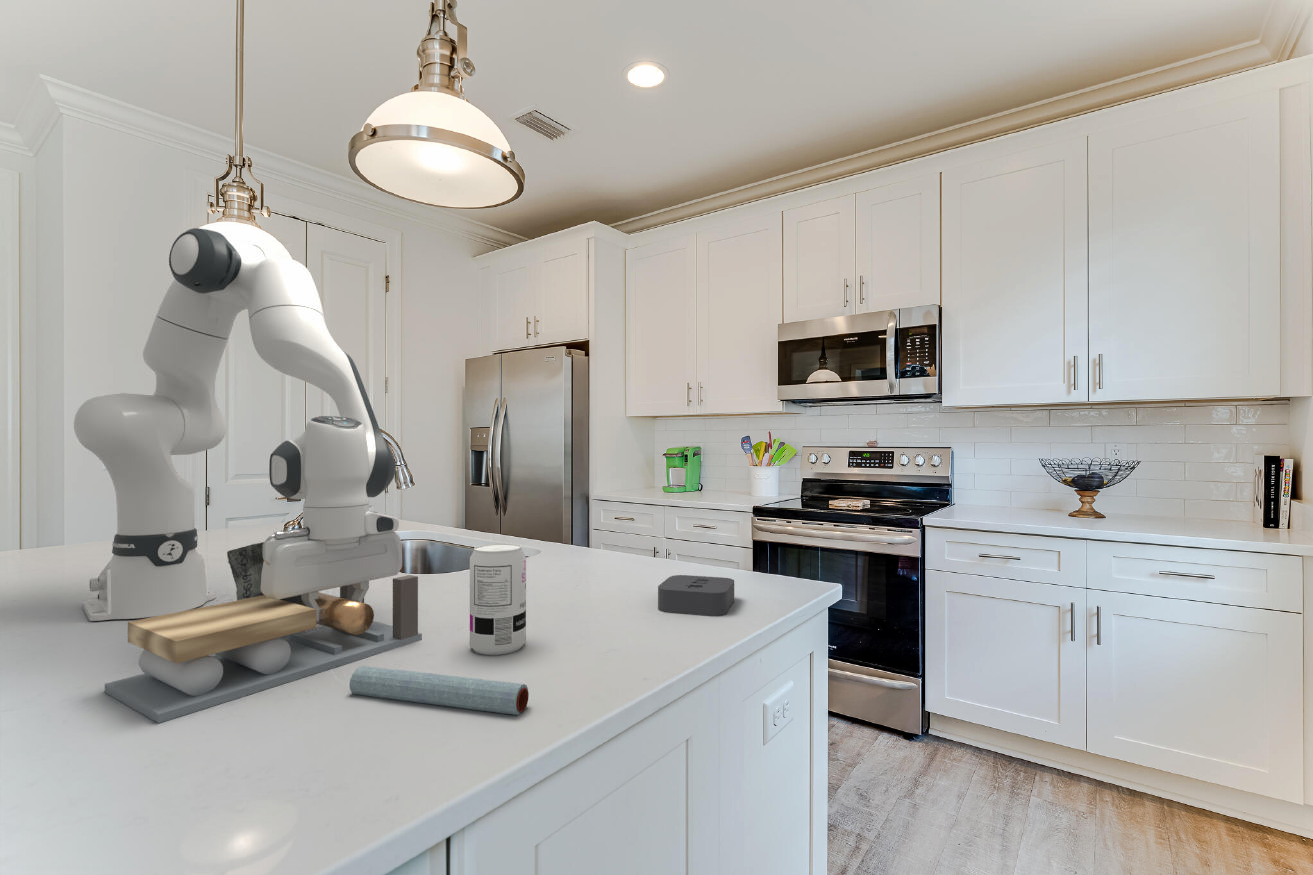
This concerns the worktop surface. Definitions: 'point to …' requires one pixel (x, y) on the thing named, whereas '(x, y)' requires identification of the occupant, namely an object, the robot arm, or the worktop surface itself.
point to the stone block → (250, 572)
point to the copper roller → (345, 614)
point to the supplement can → (497, 598)
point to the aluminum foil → (440, 689)
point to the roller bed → (252, 681)
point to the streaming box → (696, 595)
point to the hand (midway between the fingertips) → (336, 616)
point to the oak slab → (219, 627)
